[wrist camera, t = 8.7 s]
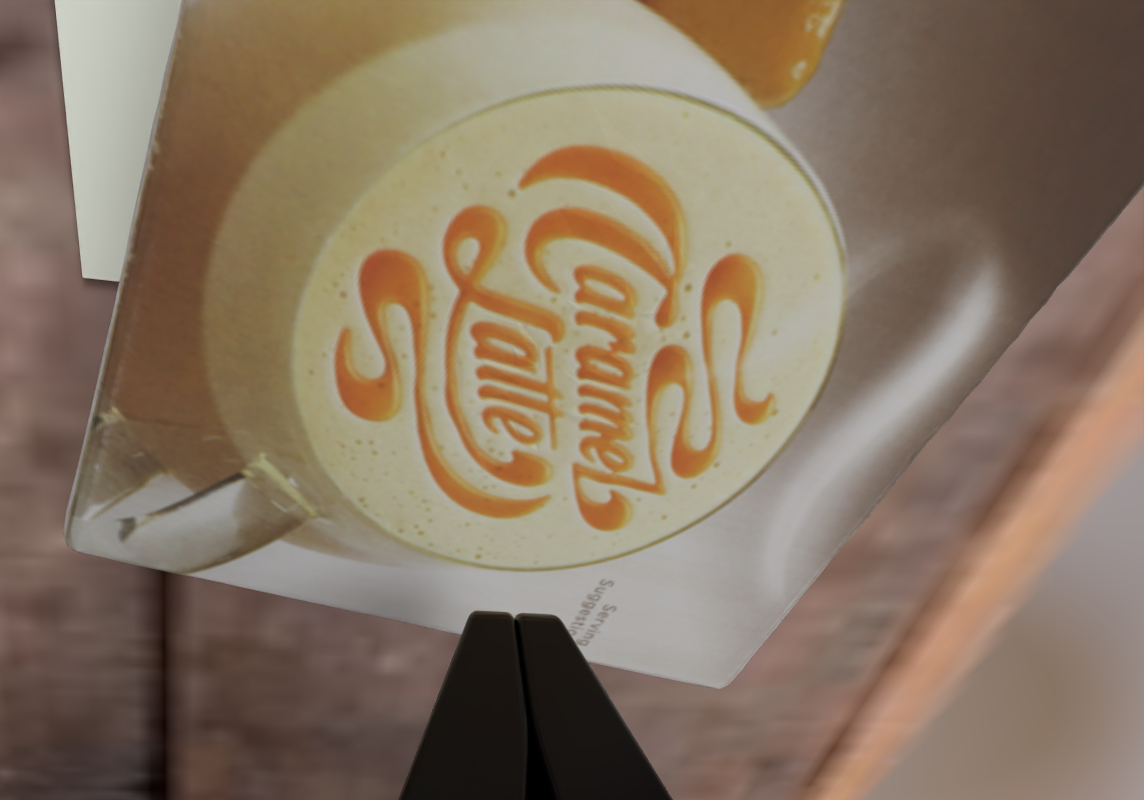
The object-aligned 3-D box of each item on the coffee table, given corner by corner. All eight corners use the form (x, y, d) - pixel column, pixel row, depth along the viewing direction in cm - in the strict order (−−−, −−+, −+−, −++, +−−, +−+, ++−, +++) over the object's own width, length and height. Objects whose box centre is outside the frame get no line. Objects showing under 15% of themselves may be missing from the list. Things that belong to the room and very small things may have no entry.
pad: (777, 341, 19) (783, 354, 19) (89, 264, 17) (82, 277, 16) (988, -205, 14) (1002, -200, 13) (23, -434, 11) (10, -436, 11)
